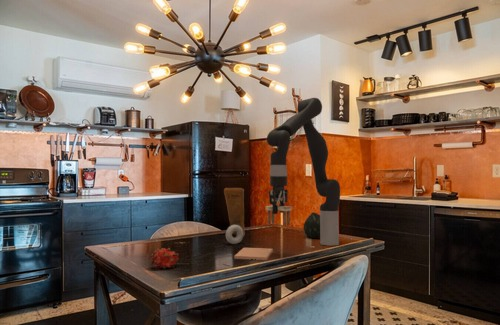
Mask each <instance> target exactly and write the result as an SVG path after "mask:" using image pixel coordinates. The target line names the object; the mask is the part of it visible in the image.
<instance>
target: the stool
mask: <svg viewBox="0 0 500 325" xmlns="http://www.w3.org/2000/svg"><path fill="white" fill-rule="evenodd" d="M292 210H293V207H292V206H291V205H290V206H288V205H284V206H279V205H278V212H279V211H283V213H282V214H283V218H282V219H283V221H282V222H283V226H284V227H286V226H290V225H291V224H290V223H291V222H290V219H291V218H290V217H291V215H290V213H291V212H290V211H292ZM265 211H267V226H269V225H270V226H271V224H272V225H274V224H275V214H273V205H267V206H265Z"/></svg>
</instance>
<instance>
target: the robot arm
mask: <svg viewBox="0 0 500 325" xmlns="http://www.w3.org/2000/svg"><path fill="white" fill-rule="evenodd" d="M322 110H323V104H322V102H321V100H320V99H319V98H317V97H311V98H307V99H302V100H300V101H298V104H297V113H296V114H294V115H292V116H290V117H289V118H288V119H286V120H285V121H284V122H283V123H282V124H280V125H279V126H277V127H275V128H274V129H271V131H269V132H268V134H267V137H266V142H267V145H269V146H270V147H273V148H275V147H277V150H276V151H273V152H271V153H270V170H269V186H271V187H272V190H270V189H269V190H268V197H269V198H268V199H269V200H268V201H269V205H271V206H273V214H274V215H277V214H278V213H281V214H283V211H278V206H285V204H286V203H287V202H288V193H289V189H286V188H285V187H286V186H288V167H287V156H288V155H287V154H288V151H289V149H290V144H291V137H292V136H294V135H295V134H296V133H297V132H298V130H300V129H301V128H303V131H304V135H305V138H306V139H305V140H306V143H307V148H308V152H309V156H310V159H311V165H312V170H313V174H314V180H315V181H314V182H315V188H316V189H315V190H316V192H317V193H318V195H319V196H320V197H324V198H325V201H324V202H323V203H321V204H320V205H319V215H320V239H319V240H320V242H319V244H320V245H323V246H328V247H329V246H330V247H331V246H340V236H339V234H340V233H339V232H340V231H339V230H340V229H339V226H340V225H339V207H340V204H341V203H340V202H341V186H340V183H339V181H338V180H337V179H333V178H329V179H328V176H327V171H326V166H327V161H328V158H329V150H328V146H327V140H326V139H325V138H324V136H323V135H322V134H321V133H320V132H319V130H317V129H316V127H315V126H314V123H313V121H312V119H314V118H316V117H318V116H319V115H321V113H322Z"/></svg>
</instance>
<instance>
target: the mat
mask: <svg viewBox="0 0 500 325" xmlns="http://www.w3.org/2000/svg"><path fill="white" fill-rule="evenodd" d="M273 252H274V249H273V248H261V247H243V248H242V249H240V250H239V251H238V252H237V253H236V254H234V256H233V257H234V260H251V259H253V261H255V259H256V260H257V261H267V260H268V259H269V258H270V257H271V255H272V254H273Z"/></svg>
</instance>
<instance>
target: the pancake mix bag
mask: <svg viewBox="0 0 500 325" xmlns="http://www.w3.org/2000/svg"><path fill="white" fill-rule="evenodd" d="M244 192H245V189H244V188H242V187H225V188H224V189H223V194H224V198H225V203H226V207H227V213H228V220H229V227H230V226H231V225H238V226H240V227H241V228H242V230H243V237H244V236H245V234H246V233H245V202H244V201H245V198H244V197H245V193H244ZM232 235H234V236H237V232H236V231H234V232H233V233H232Z"/></svg>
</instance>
